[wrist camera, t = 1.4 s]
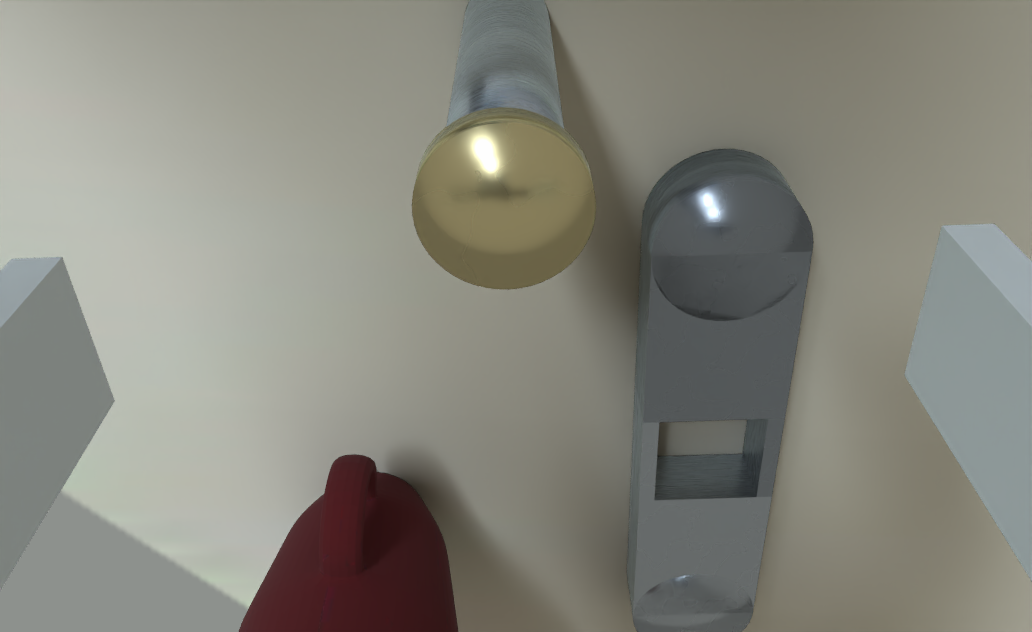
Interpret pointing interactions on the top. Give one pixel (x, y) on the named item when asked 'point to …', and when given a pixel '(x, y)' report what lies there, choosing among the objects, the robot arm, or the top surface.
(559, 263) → the pin
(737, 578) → the grey rounded bar
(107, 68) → the top surface
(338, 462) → the mug
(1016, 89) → the top surface
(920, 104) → the top surface
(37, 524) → the robot arm
